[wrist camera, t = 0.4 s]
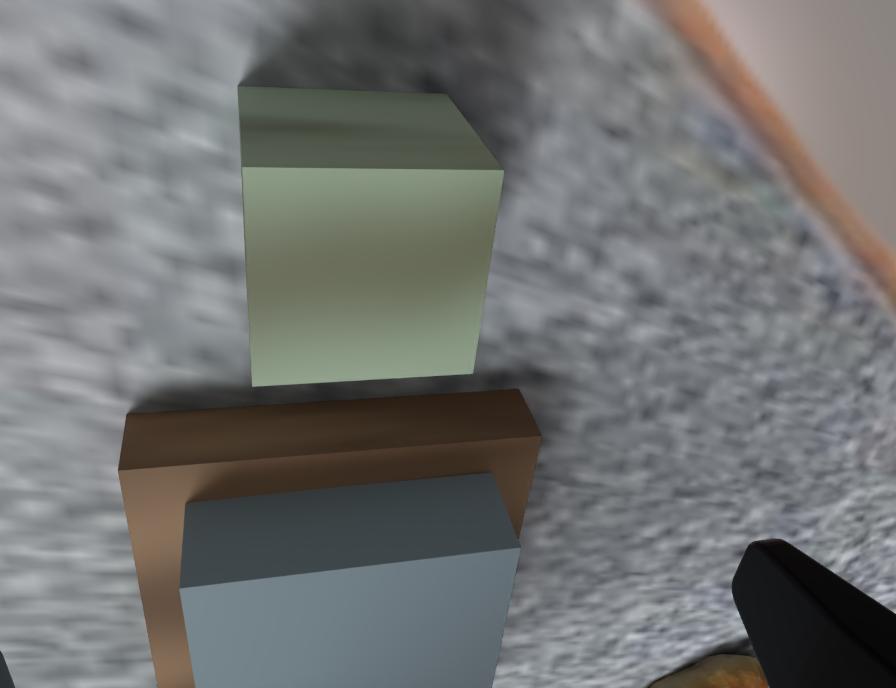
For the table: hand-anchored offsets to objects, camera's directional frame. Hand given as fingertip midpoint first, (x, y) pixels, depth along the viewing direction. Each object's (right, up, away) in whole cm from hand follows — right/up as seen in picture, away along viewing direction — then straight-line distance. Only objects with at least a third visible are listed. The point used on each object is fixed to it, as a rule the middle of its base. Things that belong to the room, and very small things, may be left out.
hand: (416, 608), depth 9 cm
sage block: (-2, +7, +11) cm, 13 cm away
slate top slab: (-3, -5, +16) cm, 17 cm away
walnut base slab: (-4, -3, +18) cm, 19 cm away
